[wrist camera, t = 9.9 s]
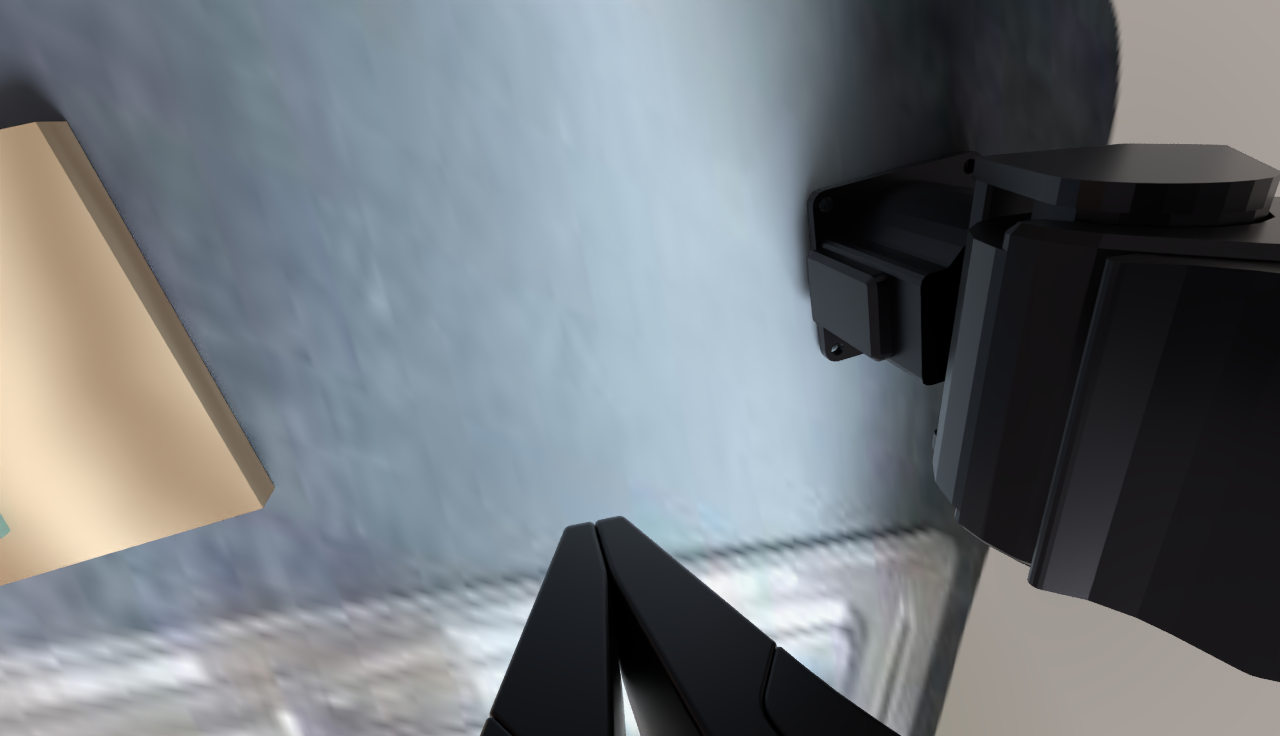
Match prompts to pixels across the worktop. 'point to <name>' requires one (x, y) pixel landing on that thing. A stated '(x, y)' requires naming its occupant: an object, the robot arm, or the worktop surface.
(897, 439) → the worktop surface
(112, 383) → the beech board
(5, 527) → the terracotta tile
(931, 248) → the robot arm
